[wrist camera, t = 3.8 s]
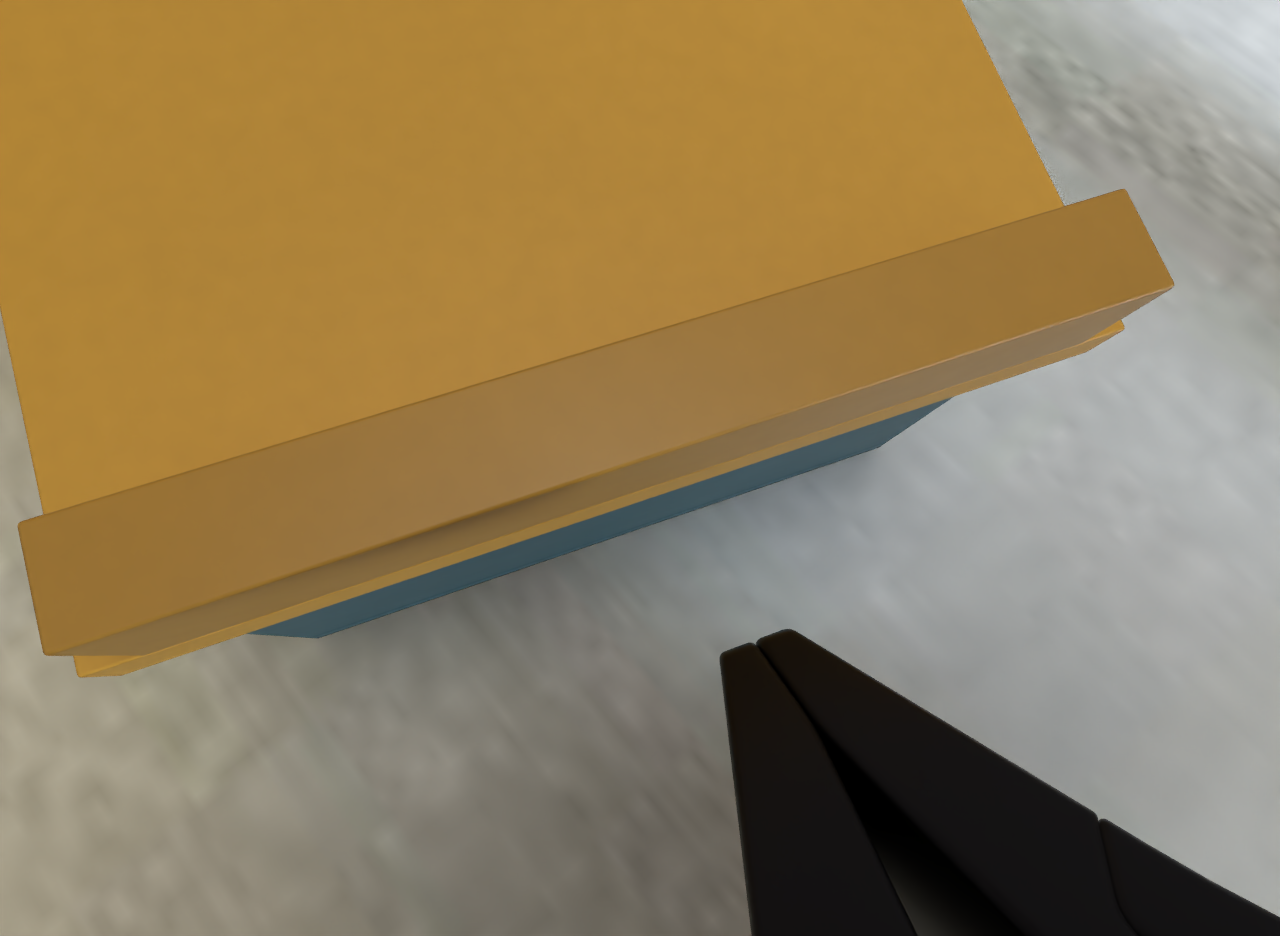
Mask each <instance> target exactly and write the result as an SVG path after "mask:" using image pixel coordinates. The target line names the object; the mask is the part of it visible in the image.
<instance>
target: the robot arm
mask: <svg viewBox="0 0 1280 936" xmlns="http://www.w3.org/2000/svg"><path fill="white" fill-rule="evenodd" d="M720 667H721V676H722V685H723V693H724V702H725V710H726V719H727V728H728V736H729V745H730V754H731V762H732V771H733V779H734V788H735V797H736V805H737V814H738V822H739V831H740V840H741V848H742V857H743V866H744V874H745V883H746V891H747V900H748V909H749V917H750V926H751V935H752V936H1280V917H1278V916H1277V915H1275V914H1273V913H1271V912H1269V911H1267V910H1265V909H1263V908H1261V907H1259V906H1257V905H1256V904H1254V903H1252V902H1250V901H1248V900H1246V899H1244V898H1242V897H1240V896H1238V895H1237V894H1235V893H1233V892H1231V891H1229V890H1227V889H1225V888H1223V887H1221V886H1220V885H1218V884H1216V883H1214V882H1212V881H1210V880H1208V879H1207V878H1205V877H1203V876H1202V875H1200V874H1198V873H1196V872H1195V871H1193V870H1191V869H1189V868H1188V867H1186V866H1184V865H1182V864H1181V863H1179V862H1177V861H1176V860H1174V859H1172V858H1170V857H1169V856H1167V855H1165V854H1163V853H1162V852H1160V851H1158V850H1157V849H1155V848H1153V847H1151V846H1150V845H1148V844H1146V843H1145V842H1143V841H1141V840H1140V839H1138V838H1136V837H1135V836H1133V835H1131V834H1130V833H1128V832H1126V831H1125V830H1123V829H1121V828H1120V827H1118V826H1117V825H1115V824H1113V823H1112V822H1110V821H1108V820H1107V819H1100V820H1099V821H1098V817H1097V815H1096V814H1095V813H1094V812H1093V811H1091V810H1090V809H1088V808H1086V807H1085V806H1083V805H1081V804H1080V803H1078V802H1076V801H1075V800H1073V799H1072V798H1070V797H1068V796H1067V795H1065V794H1063V793H1062V792H1060V791H1058V790H1057V789H1055V788H1053V787H1052V786H1050V785H1048V784H1047V783H1045V782H1044V781H1042V780H1040V779H1039V778H1037V777H1035V776H1034V775H1032V774H1030V773H1029V772H1027V771H1025V770H1024V769H1022V768H1020V767H1019V766H1017V765H1016V764H1014V763H1012V762H1011V761H1009V760H1007V759H1006V758H1004V757H1002V756H1001V755H999V754H997V753H996V752H994V751H992V750H991V749H989V748H987V747H986V746H984V745H983V744H981V743H979V742H978V741H976V740H974V739H973V738H971V737H969V736H968V735H966V734H964V733H963V732H961V731H959V730H958V729H956V728H955V727H953V726H951V725H950V724H948V723H946V722H945V721H943V720H941V719H940V718H938V717H936V716H935V715H933V714H931V713H930V712H928V711H927V710H925V709H923V708H922V707H920V706H918V705H917V704H915V703H913V702H912V701H910V700H908V699H907V698H905V697H903V696H902V695H900V694H898V693H897V692H895V691H894V690H892V689H890V688H889V687H887V686H885V685H884V684H882V683H880V682H879V681H877V680H875V679H874V678H872V677H870V676H869V675H867V674H866V673H864V672H862V671H861V670H859V669H857V668H856V667H854V666H852V665H851V664H849V663H847V662H846V661H844V660H842V659H841V658H839V657H838V656H836V655H834V654H833V653H831V652H829V651H828V650H826V649H824V648H823V647H821V646H819V645H818V644H816V643H814V642H813V641H811V640H809V639H808V638H806V637H805V636H803V635H801V634H800V633H798V632H796V631H794V630H791V629H785V630H781V631H779V632H776V633H773V634H770V635H768V636H765V637H762V638H760V639H759V640H758V641H757V642H756V645H755V644H754V643H746V644H744V645H741V646H738V647H735V648H733V649H730V650H727V651H725V652H723V653H722V654H721V655H720Z"/></svg>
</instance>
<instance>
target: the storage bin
mask: <svg viewBox="0 0 1280 936" xmlns="http://www.w3.org/2000/svg"><path fill="white" fill-rule="evenodd" d="M951 398H952V397H951ZM951 398H948V399H945V400H942V401H939V402H936V403H933V404H930V405H927V406H924V407H921V408H918V409H915V410H912V411H909V412H906V413H903V414H900V415H897V416H894V417H891V418H888V419H885V420H882V421H879V422H876V423H873V424H870V425H867V426H864V427H861V428H858V429H855V430H852V431H849V432H846V433H843V434H840V435H837V436H834V437H831V438H828V439H825V440H822V441H819V442H816V443H813V444H810V445H807V446H804V447H801V448H798V449H795V450H792V451H789V452H786V453H783V454H781V455H778V456H775V457H772V458H769V459H766V460H763V461H760V462H757V463H754V464H751V465H748V466H745V467H742V468H739V469H736V470H733V471H730V472H727V473H724V474H721V475H718V476H715V477H712V478H709V479H706V480H703V481H700V482H697V483H694V484H691V485H688V486H685V487H682V488H679V489H676V490H673V491H670V492H667V493H664V494H661V495H658V496H655V497H652V498H649V499H646V500H643V501H640V502H637V503H634V504H631V505H628V506H625V507H622V508H619V509H616V510H613V511H610V512H607V513H605V514H602V515H599V516H596V517H593V518H590V519H587V520H584V521H581V522H578V523H575V524H572V525H569V526H566V527H563V528H560V529H557V530H554V531H551V532H548V533H545V534H542V535H539V536H536V537H533V538H530V539H527V540H524V541H521V542H518V543H515V544H512V545H509V546H506V547H503V548H500V549H497V550H494V551H491V552H488V553H485V554H482V555H479V556H476V557H473V558H470V559H467V560H464V561H461V562H458V563H455V564H452V565H449V566H446V567H443V568H440V569H437V570H434V571H431V572H429V573H426V574H423V575H420V576H417V577H414V578H411V579H408V580H405V581H402V582H399V583H396V584H393V585H390V586H387V587H384V588H381V589H378V590H375V591H372V592H369V593H366V594H363V595H360V596H357V597H354V598H351V599H348V600H345V601H342V602H339V603H336V604H333V605H330V606H327V607H324V608H321V609H318V610H315V611H312V612H309V613H306V614H303V615H300V616H297V617H294V618H291V619H288V620H285V621H282V622H279V623H276V624H273V625H270V626H267V627H264V628H261V629H258V630H256V631H253V632H250V633H247V634H258V635H273V636H289V637H305V638H320V637H323V636H326V635H329V634H332V633H335V632H338V631H341V630H344V629H347V628H350V627H353V626H356V625H358V624H361V623H364V622H367V621H370V620H373V619H376V618H379V617H382V616H385V615H388V614H391V613H394V612H397V611H400V610H402V609H405V608H408V607H411V606H414V605H417V604H420V603H423V602H426V601H429V600H432V599H435V598H438V597H441V596H444V595H447V594H449V593H452V592H455V591H458V590H461V589H464V588H467V587H470V586H473V585H476V584H479V583H482V582H485V581H488V580H491V579H494V578H496V577H499V576H502V575H505V574H508V573H511V572H514V571H517V570H520V569H523V568H526V567H529V566H532V565H535V564H538V563H540V562H543V561H546V560H549V559H552V558H555V557H558V556H561V555H564V554H567V553H570V552H573V551H576V550H579V549H582V548H585V547H587V546H590V545H593V544H596V543H599V542H602V541H605V540H608V539H611V538H614V537H617V536H620V535H623V534H626V533H629V532H632V531H634V530H637V529H640V528H643V527H646V526H649V525H652V524H655V523H658V522H661V521H664V520H667V519H670V518H673V517H676V516H678V515H681V514H684V513H687V512H690V511H693V510H696V509H699V508H702V507H705V506H708V505H711V504H714V503H717V502H720V501H723V500H725V499H728V498H731V497H734V496H737V495H740V494H743V493H746V492H749V491H752V490H755V489H758V488H761V487H764V486H767V485H770V484H772V483H775V482H778V481H781V480H784V479H787V478H790V477H793V476H796V475H799V474H802V473H805V472H808V471H811V470H814V469H816V468H819V467H822V466H825V465H828V464H831V463H834V462H837V461H840V460H843V459H846V458H849V457H852V456H855V455H858V454H861V453H863V452H866V451H869V450H872V449H875V448H878V447H880V446H881V445H883V444H884V443H886V442H887V441H889V440H890V439H892V438H893V437H895V436H896V435H898V434H899V433H901V432H902V431H904V430H905V429H907V428H908V427H910V426H911V425H912V424H914V423H915V422H917V421H918V420H920V419H921V418H923V417H924V416H926V415H927V414H929V413H930V412H932V411H933V410H935V409H936V408H938V407H939V406H941V405H942V404H944V403H945V402H947V401H948V400H950V399H951Z"/></svg>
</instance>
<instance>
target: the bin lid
mask: <svg viewBox="0 0 1280 936" xmlns="http://www.w3.org/2000/svg"><path fill="white" fill-rule="evenodd" d="M1173 286H1174V282H1173V280H1172V278H1171V276H1170V274H1169V272H1168V270H1167V268H1166V266H1165V265H1164V263H1163V261H1162V259H1161V257H1160V255H1159V253H1158V251H1157V249H1156V247H1155V245H1154V243H1153V241H1152V239H1151V237H1150V236H1149V234H1148V232H1147V230H1146V228H1145V226H1144V224H1143V222H1142V220H1141V218H1140V216H1139V214H1138V212H1137V210H1136V208H1135V207H1134V205H1133V203H1132V201H1131V199H1130V197H1129V195H1128V193H1127V191H1126V190H1125V189H1120V190H1117V191H1113V192H1110V193H1107V194H1103V195H1100V196H1097V197H1094V198H1090V199H1087V200H1084V201H1080V202H1077V203H1074V204H1070V205H1067V206H1064V205H1063V203H1062V201H1061V199H1060V197H1059V195H1058V193H1057V191H1056V189H1055V187H1054V185H1053V183H1052V181H1051V179H1050V177H1049V175H1048V173H1047V171H1046V169H1045V166H1044V164H1043V162H1042V160H1041V158H1040V156H1039V154H1038V152H1037V150H1036V148H1035V146H1034V144H1033V142H1032V140H1031V138H1030V136H1029V134H1028V132H1027V130H1026V128H1025V126H1024V124H1023V122H1022V120H1021V118H1020V116H1019V114H1018V112H1017V110H1016V108H1015V106H1014V104H1013V102H1012V100H1011V98H1010V96H1009V94H1008V92H1007V90H1006V88H1005V86H1004V84H1003V82H1002V80H1001V78H1000V76H999V74H998V72H997V70H996V68H995V66H994V64H993V62H992V60H991V58H990V56H989V54H988V52H987V50H986V48H985V46H984V44H983V42H982V40H981V38H980V36H979V34H978V32H977V30H976V28H975V26H974V24H973V22H972V20H971V18H970V16H969V14H968V12H967V10H966V8H965V6H964V4H963V2H962V0H0V309H1V314H2V319H3V324H4V329H5V333H6V338H7V343H8V348H9V352H10V357H11V362H12V367H13V371H14V376H15V381H16V386H17V390H18V395H19V400H20V405H21V409H22V414H23V419H24V424H25V428H26V433H27V438H28V443H29V448H30V452H31V457H32V462H33V467H34V471H35V476H36V481H37V486H38V490H39V495H40V500H41V505H42V509H43V514H44V515H41V516H37V517H34V518H31V519H28V520H24V521H21V522H20V523H18V531H19V536H20V541H21V546H22V550H23V555H24V560H25V565H26V570H27V575H28V580H29V585H30V590H31V595H32V600H33V605H34V610H35V615H36V619H37V624H38V629H39V634H40V639H41V644H42V649H43V652H44V654H45V655H46V656H73V657H74V662H75V667H76V671H77V675H78V677H101V676H121V675H124V674H127V673H130V672H133V671H136V670H139V669H142V668H145V667H148V666H151V665H154V664H157V663H160V662H163V661H166V660H169V659H172V658H175V657H178V656H181V655H184V654H187V653H190V652H193V651H196V650H199V649H202V648H205V647H208V646H211V645H214V644H217V643H220V642H223V641H226V640H229V639H232V638H235V637H238V636H241V635H244V634H247V633H250V632H253V631H256V630H258V629H261V628H264V627H267V626H270V625H273V624H276V623H279V622H282V621H285V620H288V619H291V618H294V617H297V616H300V615H303V614H306V613H309V612H312V611H315V610H318V609H321V608H324V607H327V606H330V605H333V604H336V603H339V602H342V601H345V600H348V599H351V598H354V597H357V596H360V595H363V594H366V593H369V592H372V591H375V590H378V589H381V588H384V587H387V586H390V585H393V584H396V583H399V582H402V581H405V580H408V579H411V578H414V577H417V576H420V575H423V574H426V573H429V572H431V571H434V570H437V569H440V568H443V567H446V566H449V565H452V564H455V563H458V562H461V561H464V560H467V559H470V558H473V557H476V556H479V555H482V554H485V553H488V552H491V551H494V550H497V549H500V548H503V547H506V546H509V545H512V544H515V543H518V542H521V541H524V540H527V539H530V538H533V537H536V536H539V535H542V534H545V533H548V532H551V531H554V530H557V529H560V528H563V527H566V526H569V525H572V524H575V523H578V522H581V521H584V520H587V519H590V518H593V517H596V516H599V515H602V514H605V513H607V512H610V511H613V510H616V509H619V508H622V507H625V506H628V505H631V504H634V503H637V502H640V501H643V500H646V499H649V498H652V497H655V496H658V495H661V494H664V493H667V492H670V491H673V490H676V489H679V488H682V487H685V486H688V485H691V484H694V483H697V482H700V481H703V480H706V479H709V478H712V477H715V476H718V475H721V474H724V473H727V472H730V471H733V470H736V469H739V468H742V467H745V466H748V465H751V464H754V463H757V462H760V461H763V460H766V459H769V458H772V457H775V456H778V455H781V454H783V453H786V452H789V451H792V450H795V449H798V448H801V447H804V446H807V445H810V444H813V443H816V442H819V441H822V440H825V439H828V438H831V437H834V436H837V435H840V434H843V433H846V432H849V431H852V430H855V429H858V428H861V427H864V426H867V425H870V424H873V423H876V422H879V421H882V420H885V419H888V418H891V417H894V416H897V415H900V414H903V413H906V412H909V411H912V410H915V409H918V408H921V407H924V406H927V405H930V404H933V403H936V402H939V401H942V400H945V399H948V398H951V397H954V396H957V395H959V394H962V393H965V392H968V391H971V390H974V389H977V388H980V387H983V386H986V385H989V384H992V383H995V382H998V381H1001V380H1004V379H1007V378H1010V377H1013V376H1016V375H1019V374H1022V373H1025V372H1028V371H1031V370H1034V369H1037V368H1040V367H1043V366H1046V365H1049V364H1052V363H1055V362H1058V361H1061V360H1064V359H1067V358H1070V357H1073V356H1076V355H1079V354H1082V353H1085V352H1087V351H1089V350H1091V349H1092V348H1094V347H1096V346H1097V345H1099V344H1101V343H1102V342H1104V341H1106V340H1108V339H1109V338H1111V337H1113V336H1114V335H1116V334H1118V333H1120V332H1121V331H1123V330H1124V325H1123V323H1122V321H1121V319H1122V318H1124V317H1126V316H1127V315H1129V314H1131V313H1132V312H1134V311H1135V310H1137V309H1139V308H1140V307H1142V306H1144V305H1145V304H1147V303H1149V302H1150V301H1152V300H1154V299H1155V298H1157V297H1158V296H1160V295H1162V294H1163V293H1165V292H1167V291H1168V290H1170V289H1171V288H1172V287H1173Z"/></svg>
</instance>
